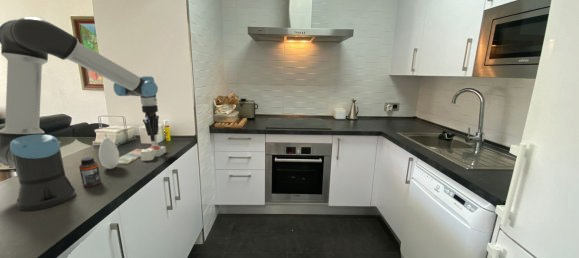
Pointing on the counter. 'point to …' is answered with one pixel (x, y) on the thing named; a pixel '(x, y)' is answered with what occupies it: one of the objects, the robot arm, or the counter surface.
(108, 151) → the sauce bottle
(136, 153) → the track board
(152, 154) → the ivory die
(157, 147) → the red button
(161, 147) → the button housing
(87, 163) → the supplement bottle
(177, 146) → the counter surface
